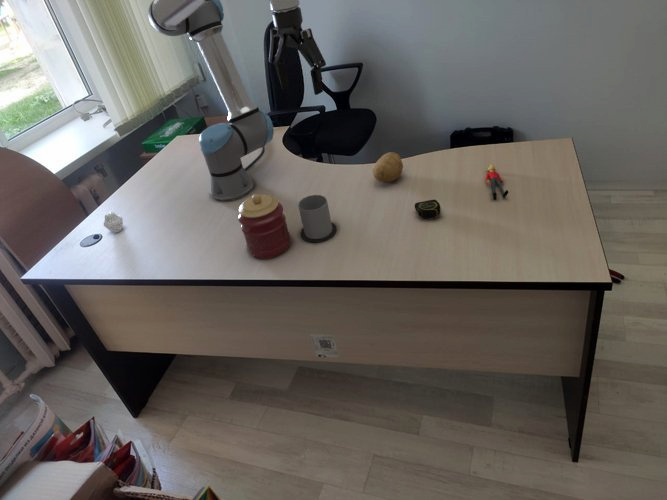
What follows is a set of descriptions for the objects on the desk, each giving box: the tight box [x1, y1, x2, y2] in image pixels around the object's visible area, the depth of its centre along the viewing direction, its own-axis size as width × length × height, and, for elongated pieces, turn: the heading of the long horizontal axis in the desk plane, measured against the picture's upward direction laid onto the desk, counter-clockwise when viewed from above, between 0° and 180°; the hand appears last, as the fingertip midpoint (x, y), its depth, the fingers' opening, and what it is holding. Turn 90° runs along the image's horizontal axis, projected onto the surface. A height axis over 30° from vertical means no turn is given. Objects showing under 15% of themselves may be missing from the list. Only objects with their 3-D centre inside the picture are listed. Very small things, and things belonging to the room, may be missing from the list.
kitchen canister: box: [237, 193, 292, 260], centre depth 136 cm, size 13×13×18 cm
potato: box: [371, 151, 404, 184], centre depth 159 cm, size 10×14×8 cm
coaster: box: [300, 221, 338, 244], centre depth 143 cm, size 11×11×1 cm
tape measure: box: [414, 199, 441, 220], centre depth 140 cm, size 7×7×4 cm
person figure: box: [485, 164, 509, 201], centre depth 147 cm, size 5×4×18 cm
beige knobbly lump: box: [103, 211, 124, 234], centre depth 160 cm, size 6×6×7 cm
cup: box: [297, 194, 333, 239], centre depth 140 cm, size 8×8×10 cm
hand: (301, 90), depth 135 cm, fingers open, 13 cm apart
